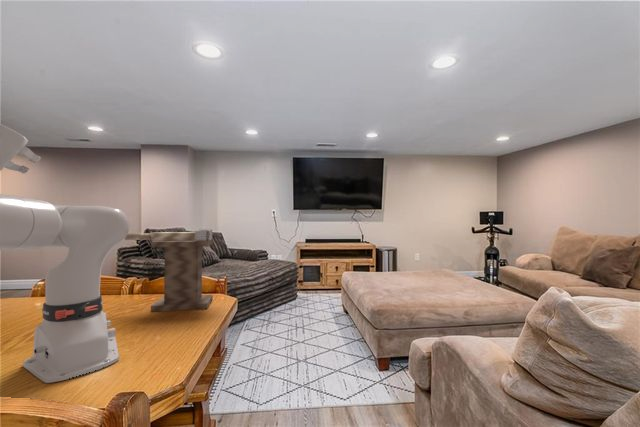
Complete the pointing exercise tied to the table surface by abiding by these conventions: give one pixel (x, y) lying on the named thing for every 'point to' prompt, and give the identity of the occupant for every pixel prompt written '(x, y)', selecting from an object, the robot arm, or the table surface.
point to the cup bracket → (203, 235)
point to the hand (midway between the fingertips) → (33, 166)
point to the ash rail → (162, 236)
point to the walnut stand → (182, 276)
